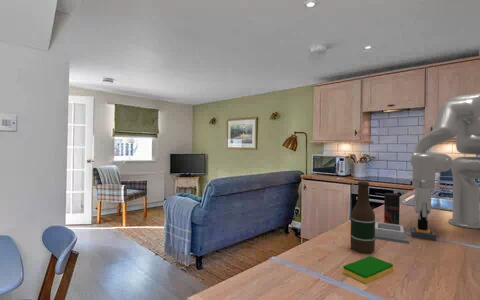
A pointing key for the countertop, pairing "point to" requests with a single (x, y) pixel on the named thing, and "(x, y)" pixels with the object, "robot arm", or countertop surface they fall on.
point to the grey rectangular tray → (391, 232)
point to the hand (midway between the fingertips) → (422, 229)
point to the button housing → (423, 234)
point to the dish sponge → (367, 269)
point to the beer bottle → (363, 222)
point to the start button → (422, 230)
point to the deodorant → (391, 208)
